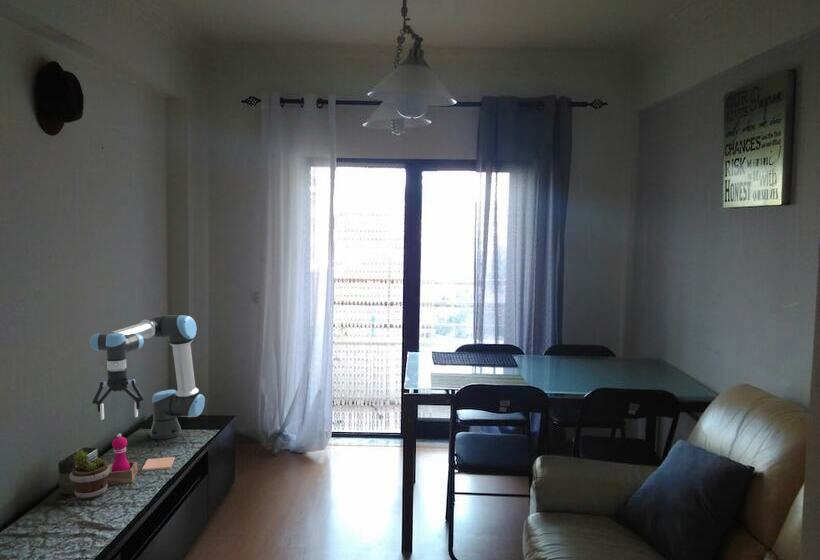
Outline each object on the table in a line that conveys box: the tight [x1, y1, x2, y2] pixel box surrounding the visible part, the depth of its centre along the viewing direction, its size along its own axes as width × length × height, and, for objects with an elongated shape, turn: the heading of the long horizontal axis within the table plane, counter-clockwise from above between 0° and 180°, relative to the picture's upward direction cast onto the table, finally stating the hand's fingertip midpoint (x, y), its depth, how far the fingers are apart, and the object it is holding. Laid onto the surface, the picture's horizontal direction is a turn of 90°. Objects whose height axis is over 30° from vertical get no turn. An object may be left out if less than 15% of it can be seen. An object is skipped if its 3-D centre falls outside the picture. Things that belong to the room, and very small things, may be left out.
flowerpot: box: [68, 447, 111, 500], centre depth 254 cm, size 14×15×20 cm
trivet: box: [141, 456, 176, 472], centre depth 287 cm, size 12×12×1 cm
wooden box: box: [106, 461, 139, 485], centre depth 271 cm, size 11×11×5 cm
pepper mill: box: [111, 433, 130, 472], centre depth 271 cm, size 7×7×20 cm
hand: (119, 417), depth 269 cm, fingers open, 13 cm apart
